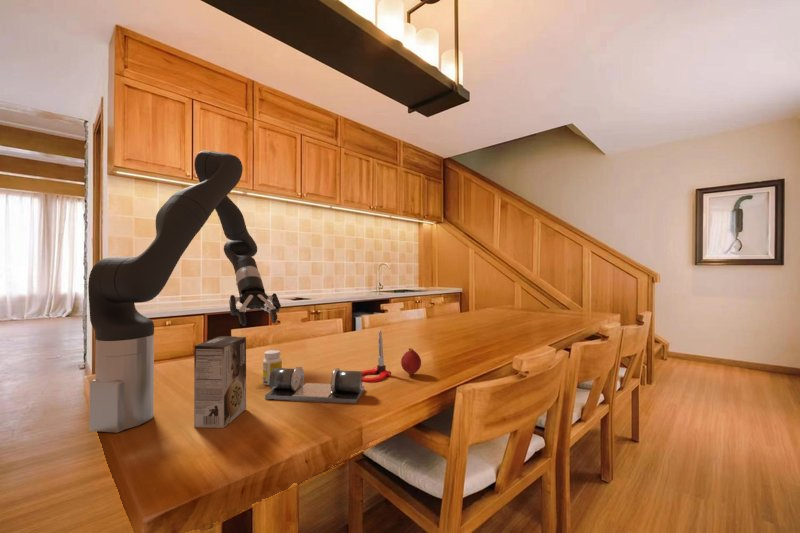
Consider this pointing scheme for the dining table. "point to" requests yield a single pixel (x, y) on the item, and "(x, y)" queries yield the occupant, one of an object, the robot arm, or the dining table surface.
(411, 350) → the onion
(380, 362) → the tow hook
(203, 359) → the coffee box
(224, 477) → the dining table surface
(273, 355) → the supplement bottle
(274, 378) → the twin cylinder plate
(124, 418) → the robot arm
